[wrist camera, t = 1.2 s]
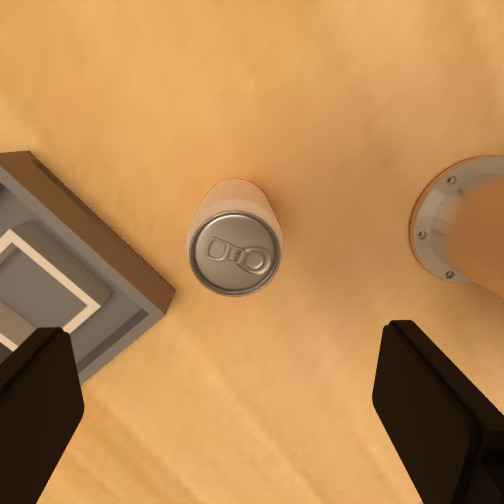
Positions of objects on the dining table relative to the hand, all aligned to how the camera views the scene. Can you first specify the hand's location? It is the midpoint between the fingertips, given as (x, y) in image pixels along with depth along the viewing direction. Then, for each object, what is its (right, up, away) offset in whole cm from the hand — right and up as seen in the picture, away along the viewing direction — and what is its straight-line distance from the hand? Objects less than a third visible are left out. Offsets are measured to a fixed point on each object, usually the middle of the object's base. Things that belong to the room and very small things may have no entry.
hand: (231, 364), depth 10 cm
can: (-1, +7, +22) cm, 23 cm away
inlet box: (-20, 0, +23) cm, 30 cm away
